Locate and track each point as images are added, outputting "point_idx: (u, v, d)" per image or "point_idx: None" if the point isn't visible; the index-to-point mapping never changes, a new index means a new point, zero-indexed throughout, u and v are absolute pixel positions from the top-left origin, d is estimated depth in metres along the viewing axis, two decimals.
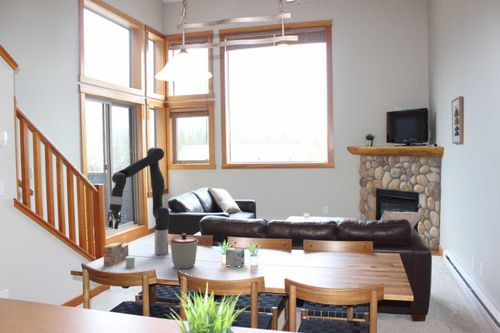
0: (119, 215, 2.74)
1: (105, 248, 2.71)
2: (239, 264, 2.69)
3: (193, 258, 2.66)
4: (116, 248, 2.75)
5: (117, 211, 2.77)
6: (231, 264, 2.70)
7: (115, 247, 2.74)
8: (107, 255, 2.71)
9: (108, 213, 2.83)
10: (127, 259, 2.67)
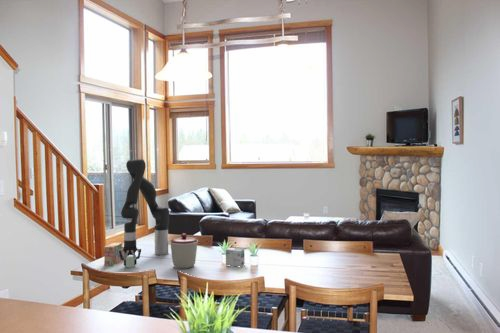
0: (140, 251, 2.71)
1: (106, 248, 2.71)
2: (239, 264, 2.69)
3: (193, 258, 2.66)
4: (117, 248, 2.76)
5: None
6: (231, 264, 2.70)
7: (116, 247, 2.74)
8: (108, 255, 2.71)
9: (119, 253, 2.67)
10: (127, 259, 2.67)
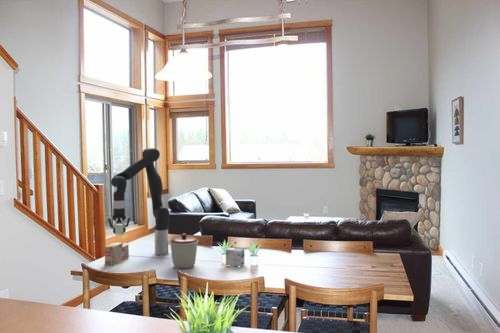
0: (129, 219, 2.79)
1: (106, 248, 2.72)
2: (239, 264, 2.69)
3: (193, 258, 2.66)
4: (117, 248, 2.76)
5: None
6: (231, 264, 2.70)
7: (116, 247, 2.75)
8: (108, 255, 2.72)
9: (109, 220, 2.75)
10: (116, 226, 2.75)
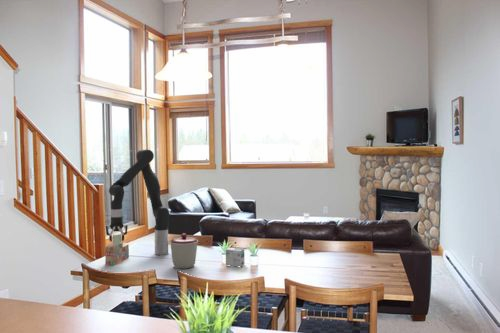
0: (127, 227, 2.81)
1: (107, 248, 2.72)
2: (239, 264, 2.69)
3: (193, 258, 2.66)
4: (118, 248, 2.76)
5: (122, 223, 2.80)
6: (231, 264, 2.70)
7: (117, 247, 2.75)
8: (109, 255, 2.72)
9: (106, 228, 2.77)
10: (114, 236, 2.77)
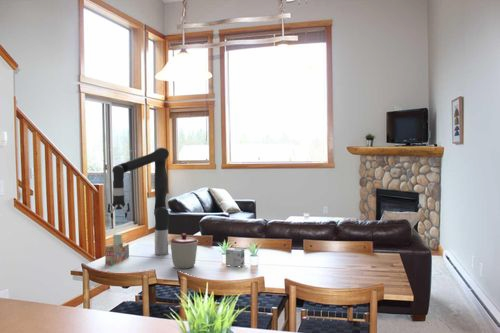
0: None
1: (107, 247, 2.73)
2: (239, 264, 2.69)
3: (193, 258, 2.66)
4: (117, 247, 2.77)
5: None
6: (231, 264, 2.70)
7: (117, 246, 2.76)
8: (109, 254, 2.73)
9: (108, 205, 2.89)
10: (114, 236, 2.79)
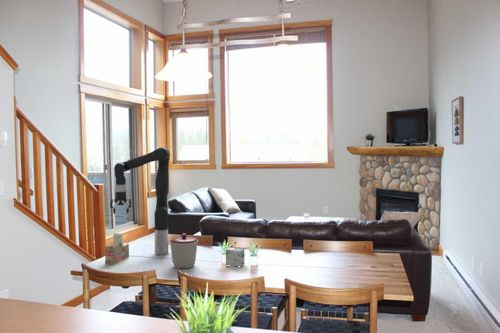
0: (130, 200, 3.05)
1: (107, 247, 2.74)
2: (239, 264, 2.69)
3: (193, 258, 2.66)
4: (117, 247, 2.78)
5: None
6: (231, 264, 2.70)
7: (116, 246, 2.77)
8: (108, 254, 2.74)
9: (111, 201, 3.01)
10: (114, 235, 2.80)
